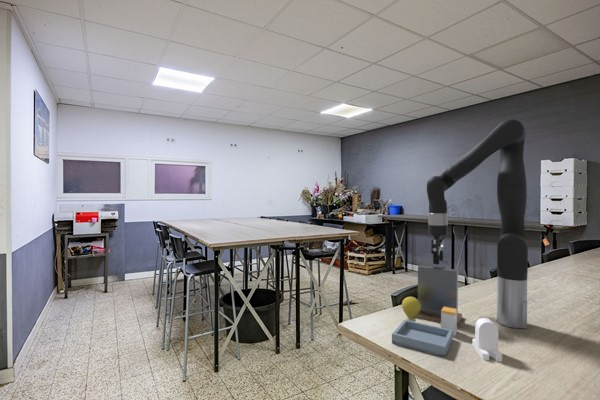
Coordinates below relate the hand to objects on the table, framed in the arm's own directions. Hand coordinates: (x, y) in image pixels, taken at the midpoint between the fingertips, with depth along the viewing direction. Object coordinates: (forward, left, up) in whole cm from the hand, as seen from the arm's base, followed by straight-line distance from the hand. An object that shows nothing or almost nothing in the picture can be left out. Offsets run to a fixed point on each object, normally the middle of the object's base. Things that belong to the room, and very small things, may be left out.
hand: (438, 262), depth 136 cm
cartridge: (-8, +23, -19) cm, 31 cm away
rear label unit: (-2, +11, -19) cm, 22 cm away
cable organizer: (-20, +32, -20) cm, 43 cm away
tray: (-2, +35, -19) cm, 40 cm away
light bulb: (+5, +23, -20) cm, 31 cm away
